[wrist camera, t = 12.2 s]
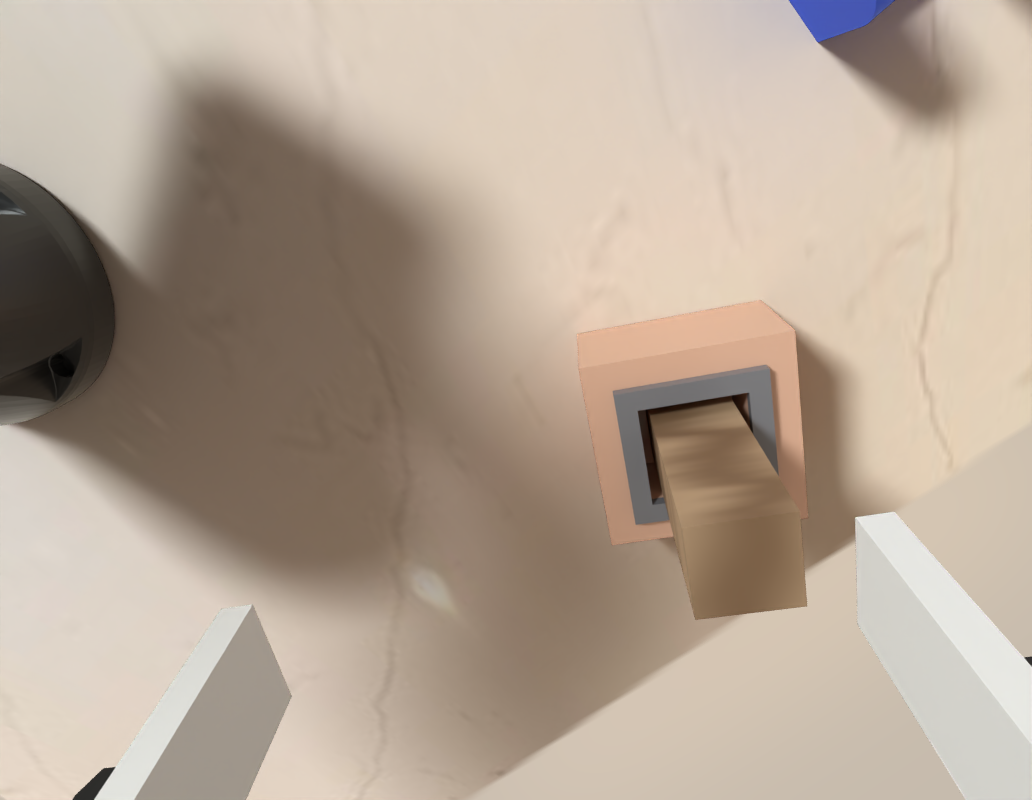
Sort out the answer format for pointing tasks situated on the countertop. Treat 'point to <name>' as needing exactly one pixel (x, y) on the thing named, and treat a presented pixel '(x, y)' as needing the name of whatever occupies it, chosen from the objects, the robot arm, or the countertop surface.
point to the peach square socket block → (687, 400)
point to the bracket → (837, 15)
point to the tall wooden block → (726, 511)
